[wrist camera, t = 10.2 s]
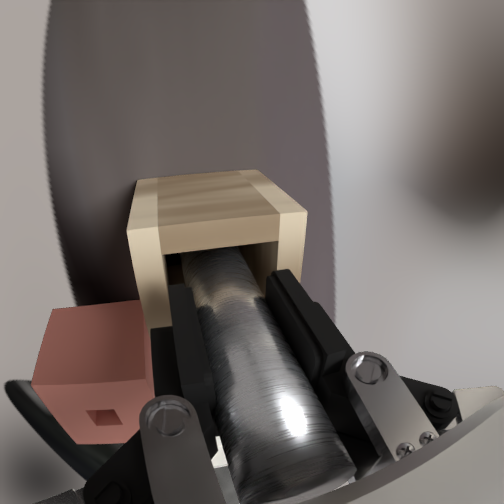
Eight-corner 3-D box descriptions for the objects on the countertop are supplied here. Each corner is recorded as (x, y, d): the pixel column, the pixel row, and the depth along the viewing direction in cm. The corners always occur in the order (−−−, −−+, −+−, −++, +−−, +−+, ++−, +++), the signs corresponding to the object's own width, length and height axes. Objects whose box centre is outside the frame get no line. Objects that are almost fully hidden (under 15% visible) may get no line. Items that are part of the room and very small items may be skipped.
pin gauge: (175, 220, 14) (240, 496, 4) (230, 214, 15) (372, 452, 5) (181, 268, 15) (242, 520, 5) (231, 261, 16) (340, 490, 6)
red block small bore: (52, 309, 16) (30, 385, 11) (143, 299, 17) (145, 378, 12) (82, 373, 19) (76, 444, 14) (160, 366, 20) (169, 438, 15)
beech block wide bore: (137, 180, 14) (126, 230, 9) (256, 169, 16) (307, 211, 11) (152, 283, 17) (156, 362, 12) (254, 269, 19) (292, 339, 14)
